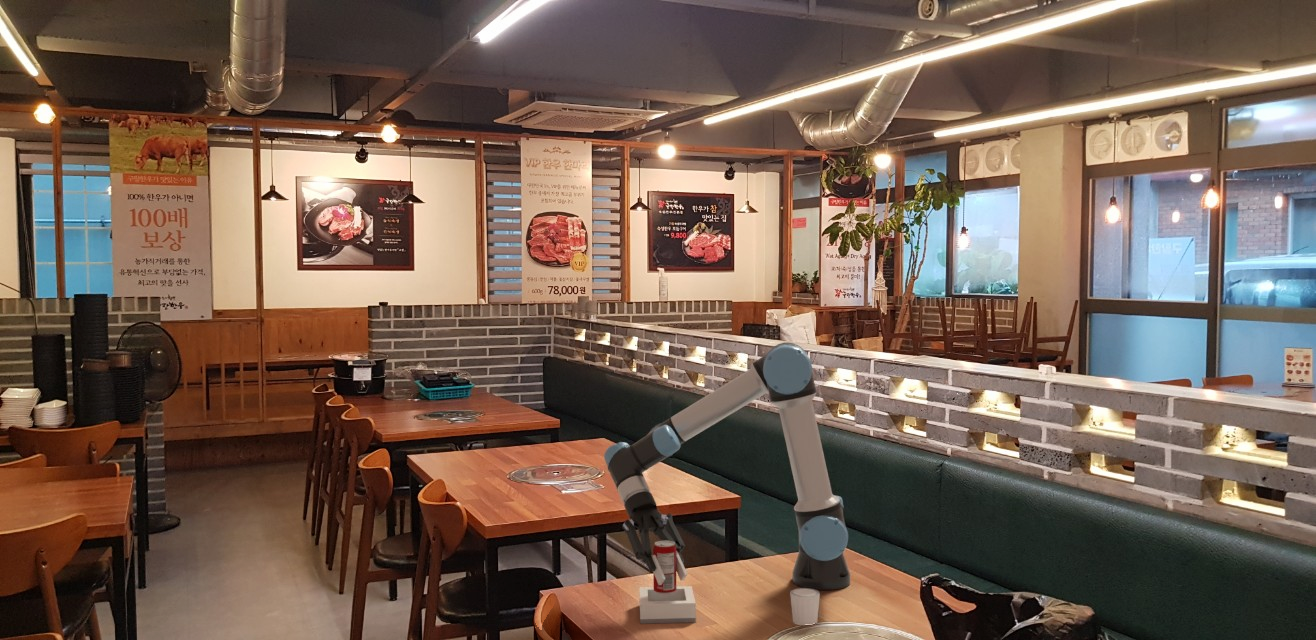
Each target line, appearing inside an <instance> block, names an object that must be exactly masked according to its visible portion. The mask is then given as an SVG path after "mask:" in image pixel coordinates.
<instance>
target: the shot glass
mask: <svg viewBox="0 0 1316 640" xmlns="http://www.w3.org/2000/svg"><path fill="white" fill-rule="evenodd" d="M789 593H790V594H789V596H790V604H791V615H792V622H793V624H795V625H797V624H798V625H797V626H801V625H805V624H813V623H818V619H819V607H820V596H821V595H820V594H821V593H820V590H817V589H809V588H805V587H798V588H794V589H792V590H790V591H789Z"/></svg>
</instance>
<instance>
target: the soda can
mask: <svg viewBox="0 0 1316 640" xmlns="http://www.w3.org/2000/svg"><path fill="white" fill-rule="evenodd" d="M652 554H653V555H655V556H656V558H657V560H658V562H659V565H660V567H661V569H662V571H663V574H664V576H665V578H666V579H665V580H664V582H663V583H662V585H658V582H657V580H656V578H655V575H654V573H653V572H652V573H653V587H654V591H655V592H656V593H658V594H672V593H674V592H675V591H676V586H677V571H676V547H675V543H674V542H673V541H667V540H665V541H661V540H657V541H655V542H654V545H653V548H652Z"/></svg>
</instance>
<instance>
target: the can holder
mask: <svg viewBox="0 0 1316 640" xmlns="http://www.w3.org/2000/svg"><path fill="white" fill-rule="evenodd" d="M693 590H694V589H693V586H692V585H678V586H677V585H676V591H675V592H674V593H672V594H658V593H656V592H655V591H654V586H641V587H639V589H638V591H639V598H638V599H639V603H638V604H639V619H640V620H639V621H640V624H670V623H671V624H673V623H697V621H696V620H697V610H696V609H697V608H696V606H697V605H696V604H697V603H696V599H695V595H694V591H693Z"/></svg>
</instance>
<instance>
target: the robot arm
mask: <svg viewBox="0 0 1316 640" xmlns="http://www.w3.org/2000/svg"><path fill="white" fill-rule="evenodd" d="M806 352H807V351H805V349H803V347H801V346H799V345H798V344H796V343H793V342H781V343H778V344H776V345H774V346H772V348H770V350H769V351H767V352H766V353H765V354H764V355H762V357H760V358H758V359H757V360H756V361H754V362H752V363H751V365H750V369H747V371H745V372H743V373H741V374H740V375H738V376H737V377H735V378H734V379H731V380H729V382H727V383H725V384H723V385H722V386H720V387H719V388H717V389H715V390H714V391H712V392H710V393H709V394H707V395H706V396H704V397H702V398H701V399H699V400H697V401H696V402H694V403H692V404H691V405H689V406H688V407H686V408H684V409H683V410H680V411H679V412H677V413H676V414H674V415H673V416H670V418H668V419H666V420H665V421H663V422H661V423H658V424H656V425H654V426H653V427H652V428H651V429H650V431H649V432H648V433H647V434H646V435H645V436H644V437H642V438H640V439H639V440H638V441H636V442H635V443H633V444H631V445H630V444H629V443H627V442H623V441H619V442H617V443H614V444H611V445H610V446H609V447H608V448H607V449H606V450H605V452H604V455H603V458H604V461H605V463H606V467H607V471H608V472H609V474H610V477H611V479H612V480H613V483H614V485H615V488H616V490H617V492H618V495H619V498H620V499H621V501H622V503H623V505H624V508H625V509H624V510H625V511H626V513H627V516H628V517H629V519H626V520H625V521H624V523H623V524H622V529H623V531H624V532H625V533H626V535H627V537H628V541H629V543H630V546H631V548H632V551H633V553H634V556H635V558H636V560H638V561H640V560H641V561H642V562H643V563H644V564H646V565H647V568H648V570H649V572H650V573H654V575H655V578H656V580H657V582H658V585H662V583H663V582H664V580H665V579H666V578H665V576H664V574H663V571H662V569H661V567H660V565H659V562H658V560H657V558H656V556H655V555H652V554H653V552H652V545H651V539H650V532H653V534H654V535H656V536H657V537H658V538H659V541H665V540H667V541H673V542H674V543H675V547H676V574H677V576H678V577H679V580H680V582H681V581H684V580H685V579H686V577H687V576H688V574H689V573H688V572H687V570H686V568H685V565H684V564H685V559H684V557H683V555H682V551H683V550H684V548H685V547H686V544H685V542H684V540H683V539H682V537H681V535H680V532H679V530H678V529H677V527H676V525H675V523H674V521H673V514H672V513H667V514H662V513H661V512H660V511H659V509H658V507H657V506H658V505H657V502H656V500H655V498H654V496H653V494H652V493H651V489H650V487H649V485H648V483H647V481H646V479H645V476H644V474H643V473H644V472H646V471H647V470H649V469H651V468H652V467H653V466H655V465H657V464H659V463H660V462H662V461H663V460H665V459H667V458H668V457H671V456H673V454H675V453H677V452H678V451H679V450H680V448H681V446H682V444H684V443H685V442H687V441H689V440H690V439H692V438H693V437H695V436H696V435H698V434H700V433H701V432H704V431H705V430H707V429H708V428H710V427H712V426H714V425H715V424H717V423H719V422H720V421H722V420H723V419H725V418H726V417H729V416H730V415H732V414H734V413H736V412H737V411H738V410H740V409H742V408H744V407H745V406H747V405H749V404H750V403H752V402H753V401H756V400H758V398H760V397H762V396H763V395H769V399H770V400H769V401H770V403H771V404H773V405H774V406H776V407H777V409H778V412H779V417H780V422H781V426H782V431H783V436H784V440H785V443H786V444H785V445H786V449H787V453H788V458H789V464H790V468H791V473H792V476H793V481H794V487H795V491H796V496H797V502H796V504H795V505H794V507H793V510H794V516H795V519H796V524H797V529H798V530H797V531H798V554H797V557H796V560H795V563H794V566H793V569H792V583H794V584H795V585H796V586H799V587H800V588H809V589H814V590H817V591H820V590H821V591H822V590H823V591H826V590H828V591H831V590H838V589H842V588H846V587H848V586H849V585H850V584H851V572H850V569H849V566H848V564H847V561H846V557H845V555H844V551H845V550H846V548H847V545H848V541H849V531H848V528H847V526H846V522H845V517H844V501H843V498H842V497H841V496H839V495H834V494H833V491H832V486H831V482H830V477H829V474H828V468H827V465H826V459H825V455H824V454H825V453H824V450H823V446H822V445H823V444H822V441H821V440H822V439H821V436H820V431H819V427H818V423H817V418H816V417H817V416H816V413H815V407H814V403H813V400H814V398H815V396H816V395H817V389H816V383H815V380H814V374H813V365H812V361H811V358H810V357H809V355H808V354H807V353H806ZM636 528H637V529H638V531H637V529H636ZM637 532H638V533H637ZM638 535H639V536H638ZM639 537H640V538H639Z"/></svg>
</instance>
